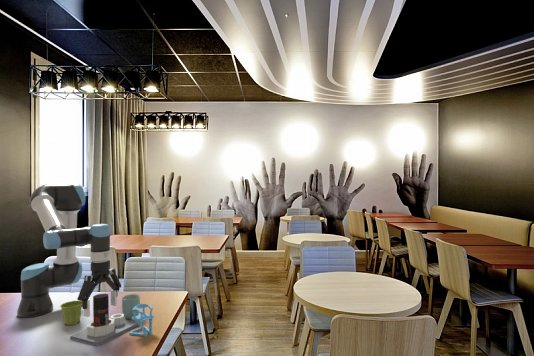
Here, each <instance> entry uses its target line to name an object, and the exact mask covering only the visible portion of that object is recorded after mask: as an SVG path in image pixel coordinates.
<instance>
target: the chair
mask: <svg viewBox="0 0 534 356" xmlns="http://www.w3.org/2000/svg"><path fill="white" fill-rule="evenodd" d="M145 308H149V311H150V312H149V313H146V312H145V311H146V310H145ZM141 309H142V310H141ZM153 310H154V307H152V306H151V305H150V304H147V303H140V304H138V305H137V306H135V307H134V308H133V309H132V311H133V313H134V316H133V317H132V319H131V321H135V322H137V323H138V324H139V325H138V326H139V328H136V329H134V330H132V331H129V333H128V335H129V336H138V337H146V338H147V337H148V334H149V335H152V334H153V319H154V318H155V315H153ZM135 311H138V312H139V314H138V316H136V314H135ZM146 321H148V327H147V326H145V325H143V323H145V322H146ZM140 331H142V332H140Z"/></svg>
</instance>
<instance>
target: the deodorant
mask: <svg viewBox="0 0 534 356" xmlns="http://www.w3.org/2000/svg"><path fill="white" fill-rule="evenodd" d="M92 301H93V302H92V303H93V305H92V307H93V308H92V310H93V311H92V313H93V315H92V317H93V326H94V327H100V326H105V325H108V324H109V318H110V317H109V314H110V312H109V311H110V310H109V309H110V308H109V303H110V302H109V293H99V294H95V295H93V296H92Z"/></svg>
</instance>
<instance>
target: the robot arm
mask: <svg viewBox="0 0 534 356" xmlns="http://www.w3.org/2000/svg"><path fill="white" fill-rule="evenodd" d="M85 203H86V194H85V191H84V188H83V186H82V185H81V184H78V183H48V184H46V183H45V184H43V185H41V186H39V187H37V188H36V189H34V190H33V192H32V193H31V195H30V198H29V204H30V207H31V209H32V210H33V211H34V212H36V214H37V217H38V218H39V220H40V222H41V225H42V227H43V229H44V231H45V232H44V233H43V235H42V241H43V247H44V249H46V250H54V249H55V250H56V257H55V258H54V259H53V261H52V264H50V265H49V263H48V262H41V263H34V264H31V265H29V266H26V267H25V268H23V269H22V270H21V272H20V273H21V274H20V288H21V289H20V291H21V293H20V302H19V304H18V307H17V309H16V316H17V317H19V318H34V317H39V316H43V315H46V314H49V313H51V312H52V311H53V310H54V304H53V301H52V298H51V297H50V289H55V288H58V287H59V288H60V287H64V286H65V287H66V286H70V285H72V284H73V285H74V284H77V283H78V282H79V281H80V280H81V278H82V275H83V264H82V261H80V260H79V258H78V256H76V254H77V252H76V249H77V248H76V247H78V246H86V245H87V246H88V245H90V271H91V274H90V275H84V277H83V283H82V286H81V288H80V290H79V293H78V296H77V299H76V301H82V308H81V309H83V316H84V317H86V318H90V317H91V309H90V308H91V304H90V303H91V302H90V301H91V300H90V297H91V295H92V294H93V292H94V290H95V288H96V287H97V286H98V285H99V284H103V283H106V284H107V285H108V286H109V287H110V288H111V290H110V305H111V306H113V307H114V306H115V307H116V306H117V305H118V304H117V299H118V295H119V294H118V291H120V289H121V288H122V284H121V283H122V282H120V279H119V277H118V275H117V270H116V268H112V267H111V261H110V259H111V229H110V225H109V224H107V223H96V224H95V223H94V224H92V225H90V226H84V227H78V228H77V226H78V213H79V211H81V210H82V209H81V207H83V206H85Z"/></svg>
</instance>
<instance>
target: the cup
mask: <svg viewBox="0 0 534 356" xmlns="http://www.w3.org/2000/svg"><path fill="white" fill-rule="evenodd" d="M138 304H141V297H140V294H137V293H136V294H135V293H133V294H132V293H131V294H126V295H123V296H122V298H121V310H122V311H121V312H122V313H121V314H124V319H125V320H132V317H133V316H134V313H133V311H132V309H133V308H134V307H135V306H137V305H138ZM135 314H136V316H138V315H140V313H139V312H138V311H135Z"/></svg>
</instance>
